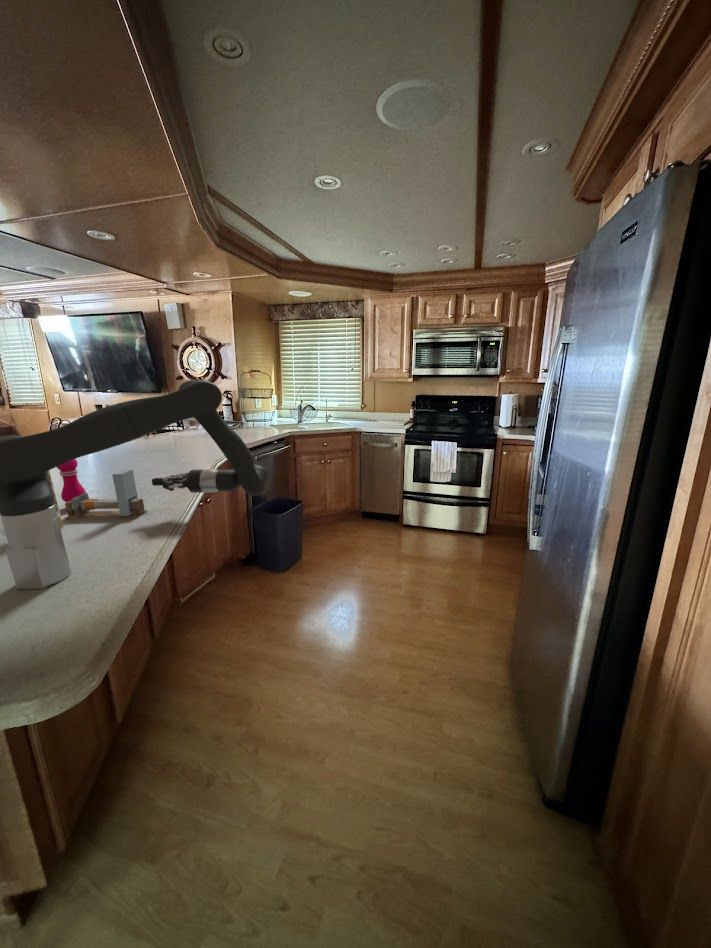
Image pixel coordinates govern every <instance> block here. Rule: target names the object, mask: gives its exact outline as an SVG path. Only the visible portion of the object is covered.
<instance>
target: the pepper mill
mask: <svg viewBox="0 0 711 948" xmlns="http://www.w3.org/2000/svg"><path fill="white" fill-rule="evenodd" d="M78 465H79V464H78V460H77V458H76V459H73V460H71V461H68V462H66V463H64V464H62V465H60V466H57V467H56V468H57V469H58V470H59V475H60V476H61V477H62V480H63V485H62V486H63V487H62V490H61V494H60V497H61V500H62V501H64V502H65V503H66V502H68V501H71V500H72V499H73V498H75V497H77V496H80V495H82V494H84V493H87V490H86V489H85V487H84V486H82V485H83V484H81V483H80V482H79V479H78V475H77V474H78V473H79V472H78V469H77V467H78ZM65 503H64V506H65V510H67V508H66V504H65Z"/></svg>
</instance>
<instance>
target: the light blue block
mask: <svg viewBox="0 0 711 948" xmlns="http://www.w3.org/2000/svg"><path fill="white" fill-rule="evenodd" d="M111 475H112V480H113V481H112V482H113V486H114V490H115V494H116V499H117V501H118V506H119V509H118V511H120V516H130V515H132V514H133V513H135V510H134V508H130V507H129V501H128V499H139V497H138V496H139V495H138V491H137V485H136V481H135V474H134V469H133V468H132V469H121V470H119V471H117V472H115V473H112V474H111Z"/></svg>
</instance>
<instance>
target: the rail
mask: <svg viewBox="0 0 711 948" xmlns="http://www.w3.org/2000/svg"><path fill="white" fill-rule="evenodd" d="M128 501H129V507H130V508H134V510H135V513H133V514H132V515H130V516H120V511H119V506H118V501H117V498H116V499H113V498H111V499H99V498H89V493H88V492H86V493H84V494H82V495H80V496H77V497H75V498H73V499H72V500H71V501H68V502H65V503H64V505H65V504H66V507H65V509H66V508H67V509H66V512H67V516H65V517H64V518H65V519H64V520H99V519H100V520H102V519H103V520H105V519H107V520H109V519H111V518H118V519H139V518H140V517H142V516H143V515H144V514H146V513H148V510H147V509H145V506H144V499H143V498H138V499H128ZM110 509H117V510H110ZM141 515H142V516H141ZM138 517H139V518H138Z"/></svg>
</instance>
